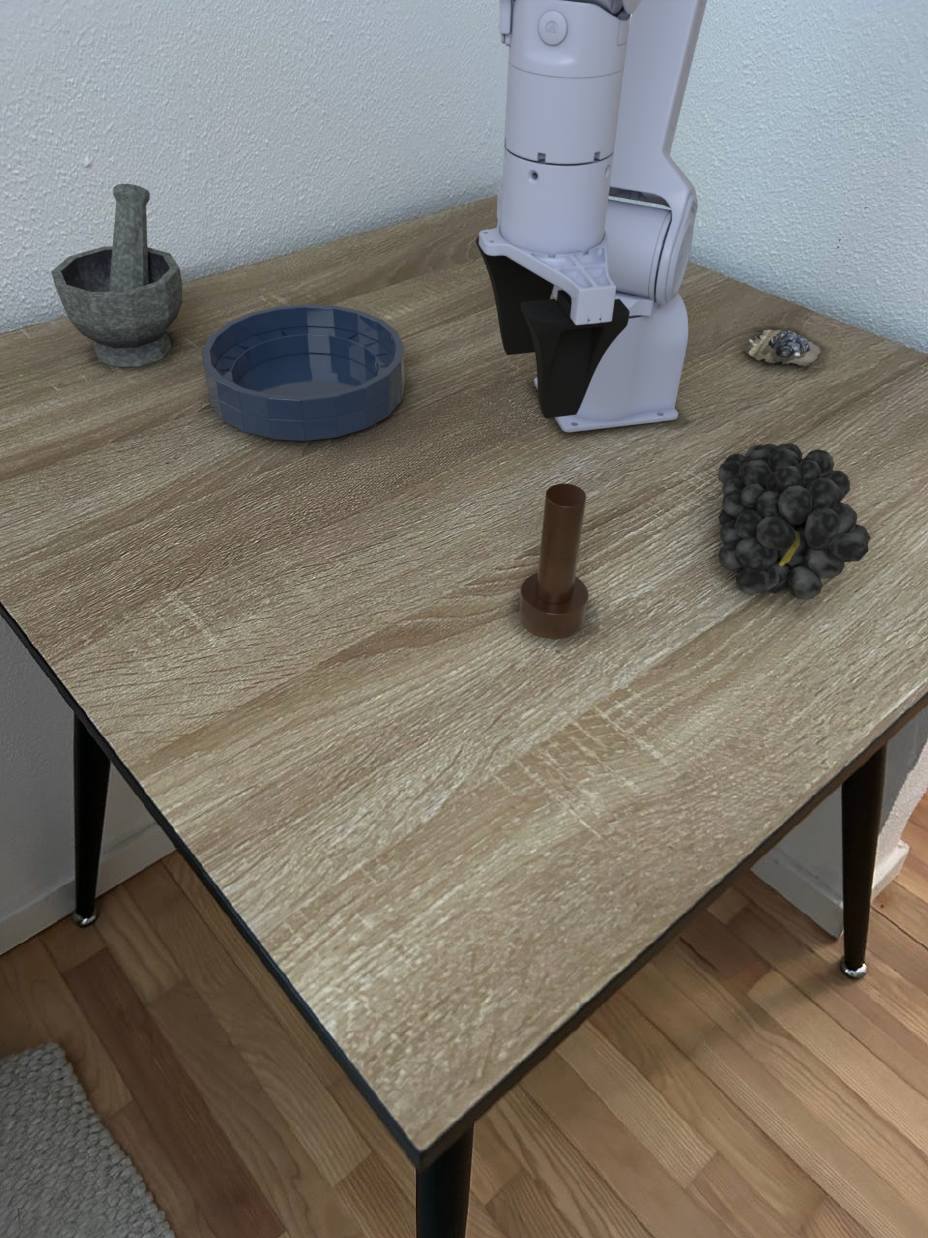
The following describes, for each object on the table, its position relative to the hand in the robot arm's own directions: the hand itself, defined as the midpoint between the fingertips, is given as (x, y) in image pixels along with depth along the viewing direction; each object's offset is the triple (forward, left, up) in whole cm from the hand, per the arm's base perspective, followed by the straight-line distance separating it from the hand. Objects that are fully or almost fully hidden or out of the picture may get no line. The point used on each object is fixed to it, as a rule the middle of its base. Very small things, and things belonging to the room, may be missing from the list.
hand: (539, 381), depth 60 cm
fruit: (-14, +7, -10) cm, 19 cm away
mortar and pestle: (+26, -30, -10) cm, 40 cm away
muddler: (+2, +10, -10) cm, 14 cm away
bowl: (+13, -19, -10) cm, 25 cm away
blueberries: (-28, -18, -10) cm, 35 cm away
